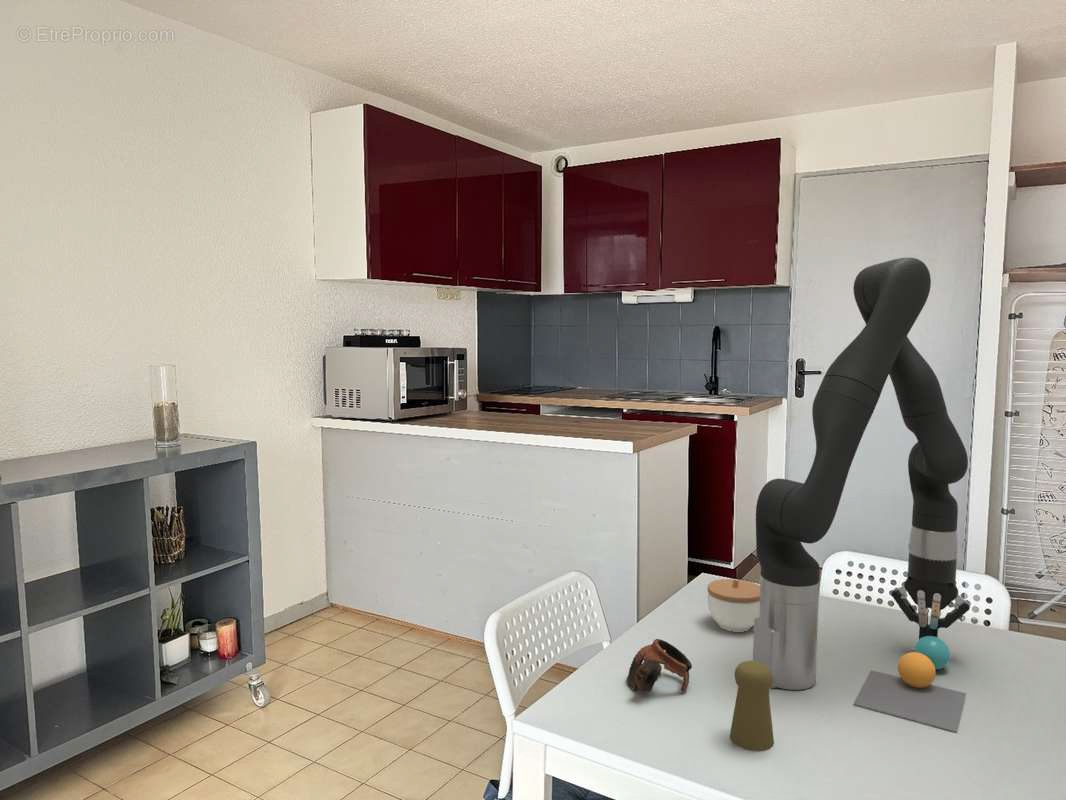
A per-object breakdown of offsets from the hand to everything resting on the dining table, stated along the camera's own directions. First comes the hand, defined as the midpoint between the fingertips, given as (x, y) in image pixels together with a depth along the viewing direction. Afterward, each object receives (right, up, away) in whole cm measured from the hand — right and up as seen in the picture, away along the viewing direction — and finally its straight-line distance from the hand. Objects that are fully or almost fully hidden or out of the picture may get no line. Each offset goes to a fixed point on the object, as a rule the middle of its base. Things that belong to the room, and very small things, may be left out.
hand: (927, 646), depth 133 cm
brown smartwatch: (-51, -3, -12) cm, 53 cm away
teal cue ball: (-2, +1, -5) cm, 6 cm away
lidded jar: (-31, -1, +13) cm, 34 cm away
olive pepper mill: (-40, -4, -28) cm, 49 cm away
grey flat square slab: (-11, -3, -16) cm, 20 cm away
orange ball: (-8, 0, -12) cm, 15 cm away
